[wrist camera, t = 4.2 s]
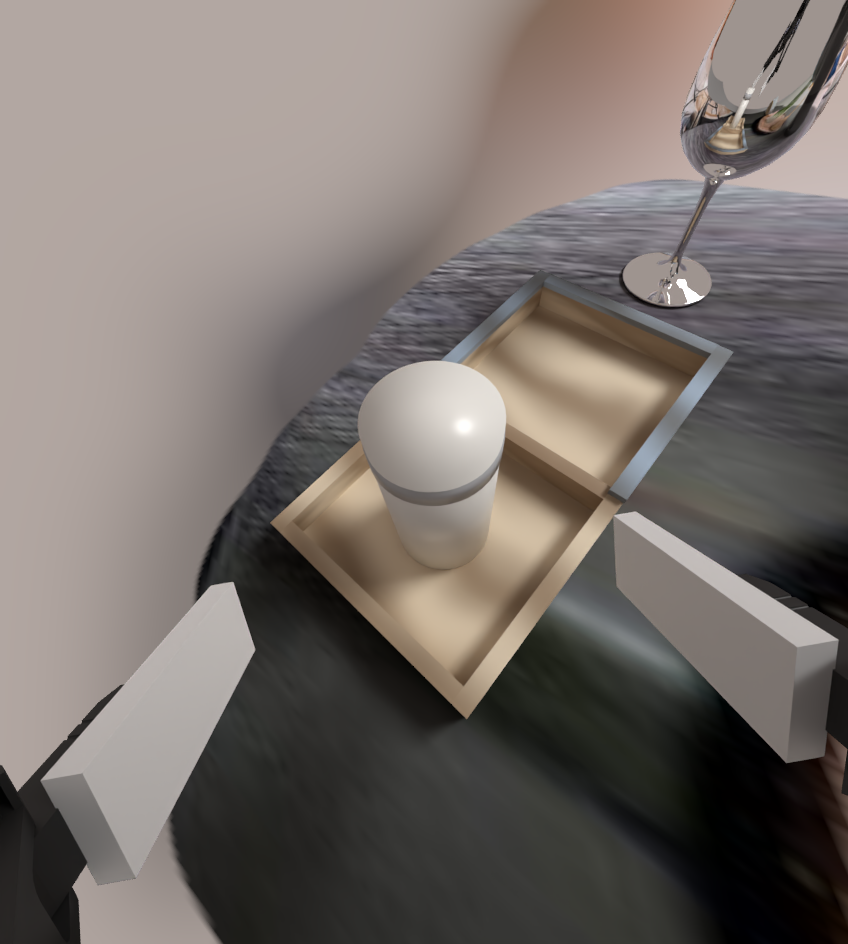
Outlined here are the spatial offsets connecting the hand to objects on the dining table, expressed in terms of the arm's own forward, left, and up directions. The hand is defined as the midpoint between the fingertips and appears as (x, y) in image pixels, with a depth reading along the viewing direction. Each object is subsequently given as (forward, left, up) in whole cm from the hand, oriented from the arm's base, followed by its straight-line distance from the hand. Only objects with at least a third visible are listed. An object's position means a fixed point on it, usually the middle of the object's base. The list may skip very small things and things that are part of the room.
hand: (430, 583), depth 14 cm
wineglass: (-36, -4, -12) cm, 39 cm away
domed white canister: (-5, -4, -11) cm, 13 cm away
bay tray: (-12, -4, -12) cm, 18 cm away
